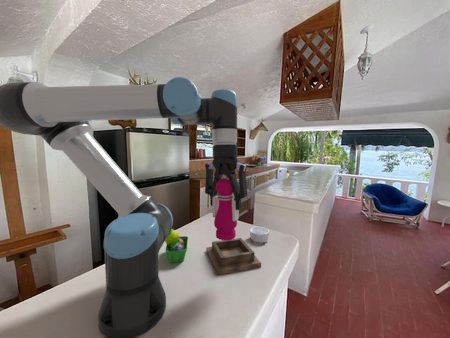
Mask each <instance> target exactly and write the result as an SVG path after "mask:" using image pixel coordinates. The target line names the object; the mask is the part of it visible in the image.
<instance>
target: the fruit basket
mask: <svg viewBox="0 0 450 338" xmlns="http://www.w3.org/2000/svg"><path fill="white" fill-rule="evenodd" d="M188 240H189V236H186V235H185V236H181V235H180V233H179V232H178V231H177V230H174V229H173V228H171V231H170V234H169V235H168V237H167V238H166V239H165V241H164V243H165V244H166V247H165V250H164V251H165V253H166V256H167V259H168V263H179V262H184V261H185V257H186V253H187V250H188Z"/></svg>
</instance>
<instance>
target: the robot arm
mask: <svg viewBox="0 0 450 338" xmlns="http://www.w3.org/2000/svg"><path fill="white" fill-rule="evenodd" d="M200 93H201V92H200V91H199V89H198V88H197V87H196V85H195V83H194V82H193V81H192V80H190V79H189V78H186V77H182V76H181V77H180V76H177V77H174V78H171V79H170V80H168V81H167V82H166V83H159V84H157V83H156V84H120V85H119V84H118V85H117V84H115V85H82V86H81V85H80V86H79V85H78V86H77V85H76V86H75V85H74V86H73V85H72V86H70V85H69V86H48V85H46V84H44V83H42V82H37V81H30V82H27V81H25V82H24V81H23V82H22V81H21V82H9V83H8V82H7V83H5V84H4V83H3V84H1V85H0V126H2V127H4V128H5V129H7V130H9V131H12V132H14V133H18V134H22V135H29V136H40V137H41V138H42V139H43V140H44V141H45V142H46V143H47V144H48V146H49V147H51V150H56V151H61V152H63V153H64V154H65V155H66V156H67V158H68V159H69V160H70V162H72V163H73V164H74V165H75V166H76V168H77V169H78V170H79V171H80V173H82V174H83V176H85V178H86V179H87V180H88V181H89V182H90V183H91V184H92V185H93V187H94V188H95V190H97V192H98V193H99V194H100V195H101V196H102V197H103V198H104V199H105V200H106V201H107V203H108V204H110V207H112V208H113V209H114V210H115V211H116V212H117V215H118V217H117V218H116V219H114V220H113V221H111V222H110V223H109V224H108V225H107V227H106V228H105V231H104V239H103V249H104V265H105V268H104V269H105V270H104V271H105V287H106V288H105V293H104V296H103V299H102V302H101V305H100V308H99V311H98V317H97V318H98V320H97V321H98V330H99V332H100V333H101V334H102V335H103V336H104V337H106V338H135V337H138V336H140V335H142V334H144V333H146V332H147V331H149V330H151V329H152V328H153V327H154V326H156V324H158V322H159V321H160V320H161V319H162V318H163V316H164V314H165V311H166V307H167V296H166V292H165V290H164V287H163V284H162V282H161V278H160V277H159V253H160V250H161V249H162V247H163V245H164V243H165V239H166V238H167V237H168V235H169V234H170V231H171V229H173V223H174V218H173V214H172V212H171V210H170V209H169V208H168V207H167V205H166V206H165V205H164V204H162V203H158V202H157V201H156V200H155V199H154V198H153V197H152V196H151V195H145V194H143V193H142V192H141V191H140V190H139V188H138V187H137V186H136V185H135V184H134V182H132V180H131V179H130V178H129V177H128V176H127V174H126V173H125V172H124V171H123V170H122V169H121V168H120V166H119V165H118V163H116V161H114V159H112V157H111V156H110V155H109V154H108V152H107V151H106V150H105V149H104V148H103V146H102V145H101V144H100V143H99V142H98V141H97V140H96V138H95V137H94V136H93V131H94V128H93V126H92V125H91V124H90V123H89V122H90V121H91V122H95V121H96V122H97V121H98V122H99V121H119V120H121V121H122V120H126V121H127V120H145V119H171V122H172V123H173V124H174V125H181V126H186V125H188V126H189V125H211V126H212V129H211V130H212V131H211V133H212V136H211V137H212V138H211V139H212V143H213V145H212V157H213V160H212V161H211V162H209V163H204V167H205V189H204V194H205V195H209V196H210V206H211V207H212V218H215V216H216V214H217V211H218V208H219V199H217V198H218V196H217V195H218V192H217V191H216V183H217V182H218V181H219V180H220V179H223V177H222V176H223V174H225V175H227V177H228V178H227V179H229V181H230V184H231V187H232V190H233V193H232V194H233V199H232V207H233V221H236V220H237V221H238V220H239V219H240V218H239V217H240V214H239V213H240V211H241V209H242V199H245V198H247V197H248V185H247V184H248V183H247V176H246V174H247V173H246V171H247V167H248V165H247V164H245V163H244V164H243V163H240V162H239V161H238V145H237V144H236V143H238V100H237V99H238V97H237V94H236V92H235V91H234V90H231V89H228V88H227V89H225V88H223V89H222V88H221V89H216V90H214V91H213V92H212V93H211V97H209V98H208V97H206V98H202V96H201V94H200ZM214 169H215V170H214ZM236 170H237V171H238V172H237V173H238V178H237V173H236Z"/></svg>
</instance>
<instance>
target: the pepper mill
mask: <svg viewBox="0 0 450 338" xmlns="http://www.w3.org/2000/svg"><path fill="white" fill-rule="evenodd" d="M216 191H217V195H216V196H218V198H217V199H219V208H218V211H217V214H216V216H215V217H214V223H213V225H214V227H215V228H216V230H215V237H216V238H217V239H218V240H219V241H222V240H232V239H236V236H237V234H236V229H235V228H237V226H238V220H236V221H233V206H232V200H233V199H234V194H233V190H232V187H231V184H230V181H229V178H228V177H227V175H225V174H223V176H222V178H221V179H220V180H219V181H218V182H217V183H216Z"/></svg>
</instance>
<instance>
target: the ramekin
mask: <svg viewBox="0 0 450 338" xmlns="http://www.w3.org/2000/svg"><path fill="white" fill-rule="evenodd" d="M249 232H250V239H251V241H253V242H254V243H258V242H259V244H261V243H263V242H264V243H266V242H268V240H269V233H270V230H269V229H268V228H267V227H264V226H252V227H251V228H249Z"/></svg>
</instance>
